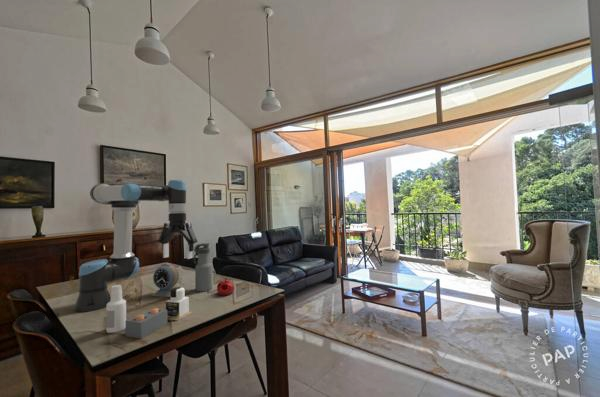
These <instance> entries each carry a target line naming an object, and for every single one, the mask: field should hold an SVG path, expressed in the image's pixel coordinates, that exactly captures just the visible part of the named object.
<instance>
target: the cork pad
mask: <svg viewBox="0 0 600 397" xmlns="http://www.w3.org/2000/svg"><path fill="white" fill-rule="evenodd" d="M190 314H192V311H189V312H188V313H186V314H184V315H183V316H181V317H179V318H176V317H167V321H173V320H175V322H179V321H180V320H181V318H182V319H183V318H185V317H187V316H189V315H190Z"/></svg>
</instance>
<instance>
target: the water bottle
mask: <svg viewBox="0 0 600 397" xmlns="http://www.w3.org/2000/svg"><path fill="white" fill-rule="evenodd" d="M193 251H194V253H195V254H194V255H193V263H194V264H195V268H194V269H195V270H194V271H195V274H194V275H195V285H194V286H195V291H197V292H208V291H211V290H212V289H213V264H212V263H211V262H210V252H211V250H210V243H205V242H203V243H198V244H196V245H195V246H194V250H193ZM196 256H197V261H196Z"/></svg>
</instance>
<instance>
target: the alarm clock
mask: <svg viewBox="0 0 600 397" xmlns="http://www.w3.org/2000/svg"><path fill="white" fill-rule="evenodd" d="M179 278H180V273H179V270H178V269H177V267H176V266H174V265H172V263H169V262H167V263H162V264H161V265H160V266H158V267H157V268H156V269H155V271H154V272H153V276H152V280H153V284H154V285H155V287H157V288H158V290H157V291H155V292H154V293H153V294H151V297H163V298H164V297H165V298H170V291H171V289H173V288H174V287H175V286H176V285H177V283H178V281H179Z"/></svg>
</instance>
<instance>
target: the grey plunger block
mask: <svg viewBox="0 0 600 397" xmlns="http://www.w3.org/2000/svg"><path fill="white" fill-rule="evenodd" d="M153 308H154V307H152V308H150V309H148V310H145V311H143V312H140V313H139V314H138V315H142V314H143V315H144V319H143V320H141V321H136V316H137V315H135V316H133V317H130V318H129V319H126V328H125V337H128V338H129V337H131V338H136V339H143V338H145V337H147V336H149V335H150V334H152V333H155V331H158V330H159V329H161V328H163V327H164V326H166V325H168V320H167V310H166V309H162V308H158V313H155V314H150V310H151V309H153Z"/></svg>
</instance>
